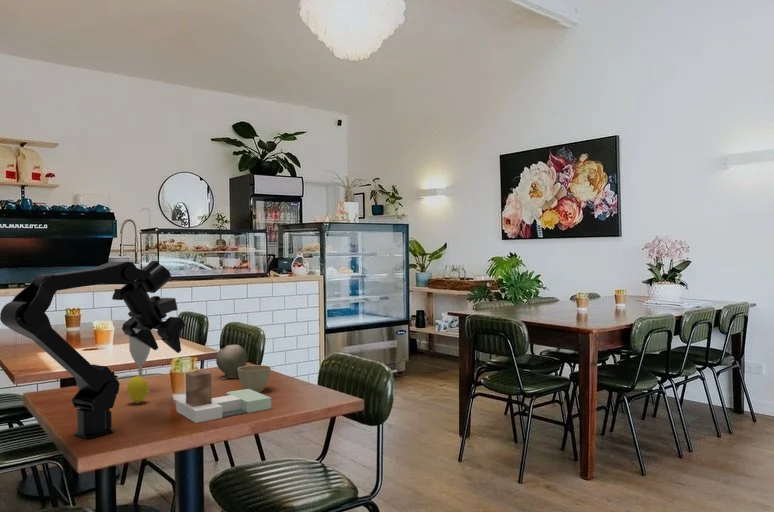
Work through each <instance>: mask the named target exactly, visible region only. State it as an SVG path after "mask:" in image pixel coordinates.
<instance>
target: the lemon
mask: <svg viewBox="0 0 774 512" xmlns="http://www.w3.org/2000/svg"><path fill="white" fill-rule="evenodd" d="M148 390H149V384H148V381H147V380H146V378H144V376H143V377H140V376H139V374H138V375H136V376H134V377H132V378H131V379H129V382H128V385H127V391H126V393H127V396H128V398H129V399H130V400H131V401H133V402H135V404H140V403H141V402H142V401H144V400H145V399H146V398H147V396H148V393H149V392H148Z"/></svg>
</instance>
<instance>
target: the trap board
mask: <svg viewBox="0 0 774 512" xmlns="http://www.w3.org/2000/svg"><path fill="white" fill-rule="evenodd" d="M175 400H176V399H175ZM175 405H176V412H177V414H180V415H182V416H184V418H187V419H188V420H189V421H192V422H193V423H195V424H198V423H203V422H208V421H213V420H218V419H224V418H229V417H230V418H231V417H233V416H240V415H245V414H246V415H247V414H250V413H255V412H256V413H257V412H261V411H266V410H270V409H272V396H271V397H270V396H268V395H266V394H263V393H261V392H256V391H253V390H251V389H244V388H243V389H239V390H238V389H237V390H232V391H227V392H225V395H224V396H218V397H212V404H207V405H201V406H195V407H192V406H190V405H189V404H187V403H186V398H183V399H177V400H176V403H175Z"/></svg>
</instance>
